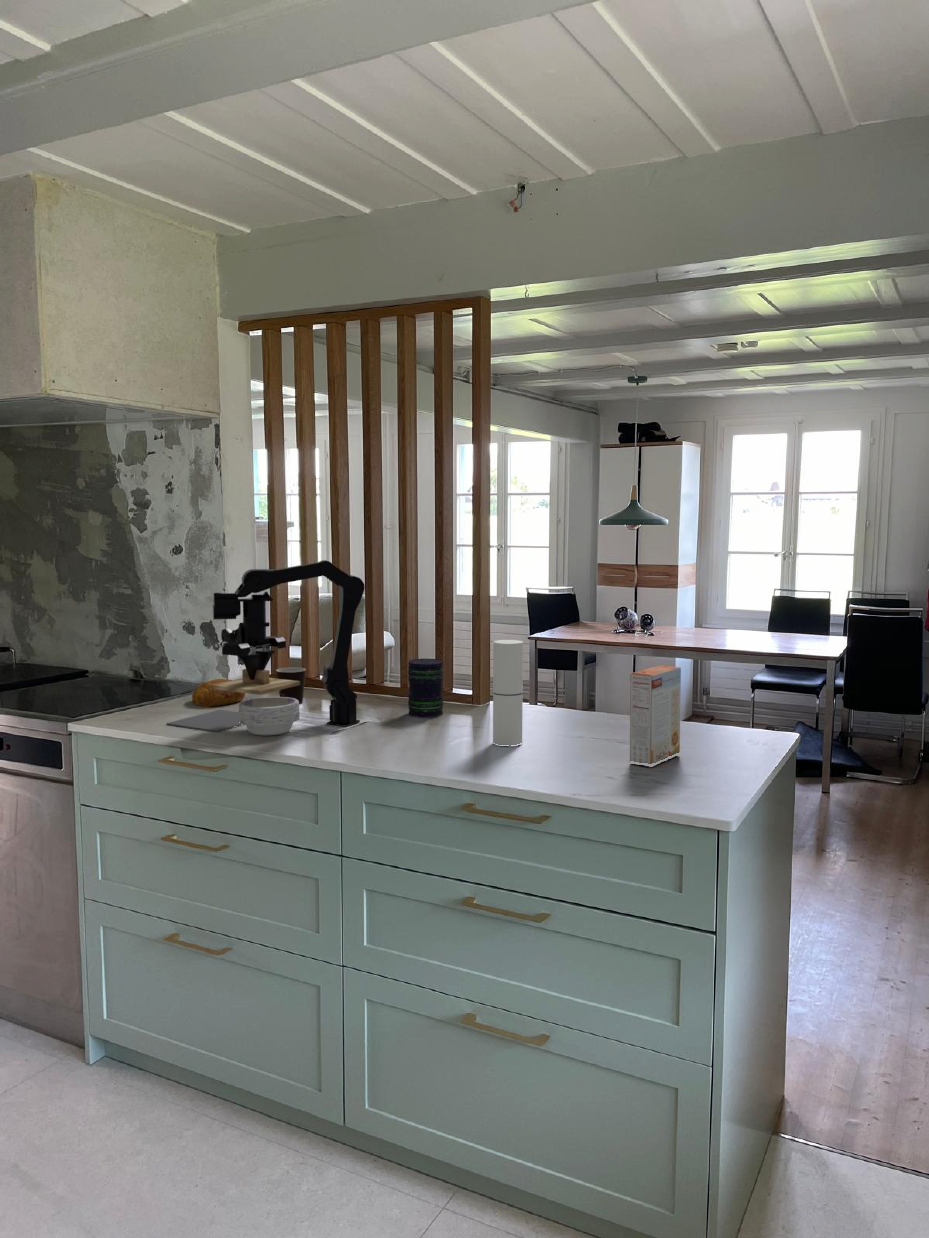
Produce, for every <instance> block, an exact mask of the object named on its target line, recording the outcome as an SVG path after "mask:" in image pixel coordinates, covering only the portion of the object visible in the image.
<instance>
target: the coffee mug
mask: <svg viewBox="0 0 929 1238" xmlns="http://www.w3.org/2000/svg"><path fill="white" fill-rule="evenodd" d="M306 672H307V668H303V667H281V668H277V669H276V670H275V673H276V679H285V680H294V681H300V685H298V686H294V687H290V688H286V689H282V690H278V694H279V697H289V698H294V699H297V700H298V701H299V706H300V705H303V701H304V693H305V692H304V690H305V683H306V682H305V681H306Z"/></svg>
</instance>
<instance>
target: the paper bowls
mask: <svg viewBox="0 0 929 1238" xmlns="http://www.w3.org/2000/svg"><path fill="white" fill-rule="evenodd" d="M238 712H239V721H240V723H241V724H243V725H242V726H246V729H247V730H248V732H249V733H251V734H252V735H256V736H278V735H282V734H287V732H289V731H290V730H291V729H292V727H293V724H294V723H295V722H298V721H299V720H300V717H301V715H300V713H301V711H300V705H299V701H298V700H297V699H294V698H289V697H280V696H267V697H259V698H258V697H257V698H251V699H247V700H242V701H240V703H238Z"/></svg>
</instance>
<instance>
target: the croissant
mask: <svg viewBox="0 0 929 1238" xmlns="http://www.w3.org/2000/svg"><path fill="white" fill-rule="evenodd" d="M232 680H233V679H226V678H217V679H210V680H208V681H206V682H202V683H201V684H199V685H198V686H197V687H196V688H195V689H194V690H193V692H192V696H191V701H192V703H193V704H194V705H197V706H201V707H205V708H206V707H207V708H210V707H217V706H218V707H219V706H226V705H230V704H235V703H239V702H242V701H244V698H245V695H246V693H241V692H232V691H224V690H215V689H211V685H213V684H218V683H222V682H227V681H232Z"/></svg>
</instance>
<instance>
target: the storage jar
mask: <svg viewBox="0 0 929 1238" xmlns="http://www.w3.org/2000/svg"><path fill="white" fill-rule="evenodd" d="M407 663H408V668H407V669H408V670H407V675H408V676H407V677H408V678H407V679H408V681H407V682H409V683H408V684H409V688H408V689H409V692H408V701H407V703H408V704H407V706H408V716H410V717H414V718H421V719H423V718H424V719H426V718H428V719H429V718H437V717H441V716H443V714H444V711H443V709H444V695H443V681H444V666H443V665H444V660H442V659H438V658H437V659H436V658H414V659H410V660H408V662H407Z"/></svg>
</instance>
